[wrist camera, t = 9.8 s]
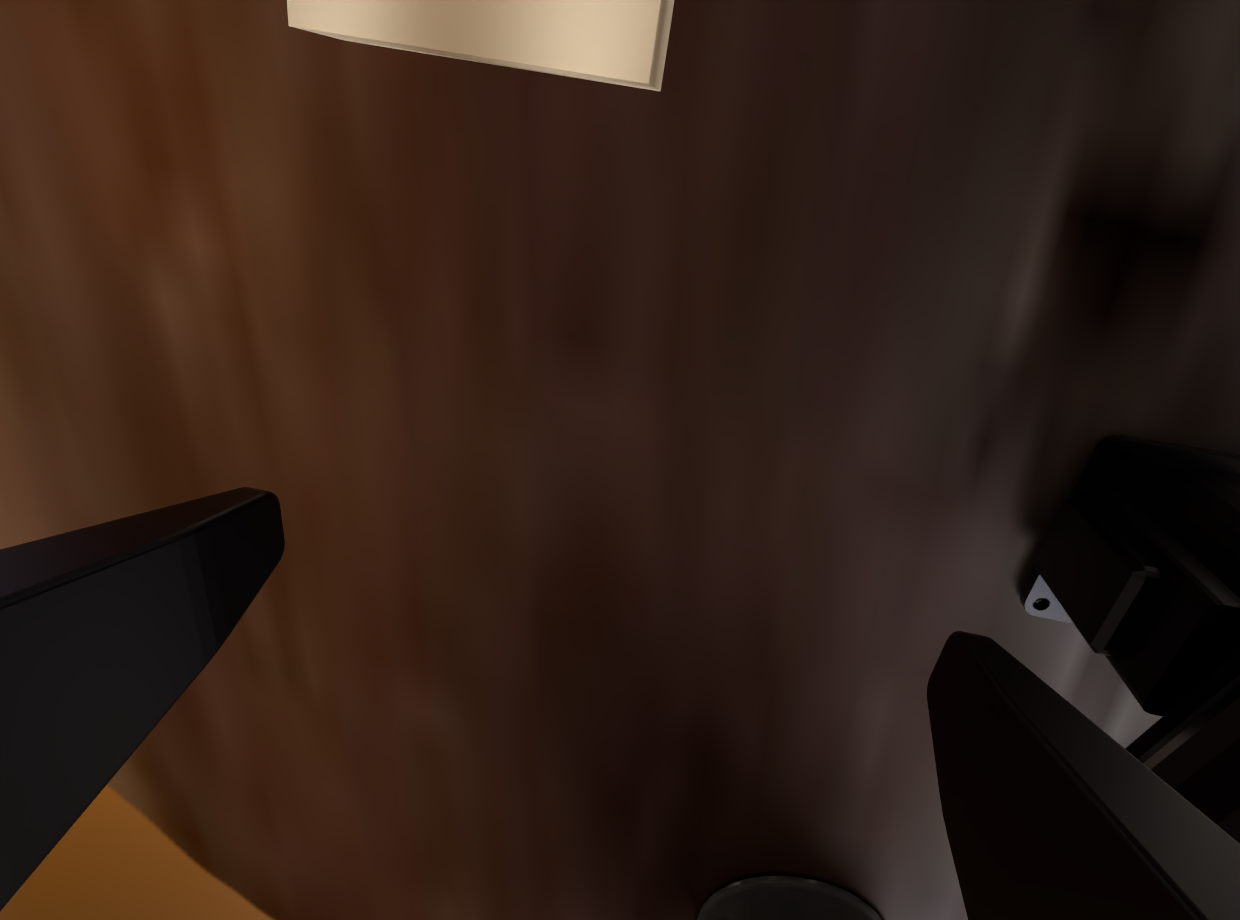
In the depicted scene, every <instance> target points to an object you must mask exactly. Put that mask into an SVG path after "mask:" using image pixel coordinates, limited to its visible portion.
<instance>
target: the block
mask: <svg viewBox="0 0 1240 920" xmlns="http://www.w3.org/2000/svg"><path fill="white" fill-rule="evenodd" d="M673 6H674V0H287V8H288V22H289V26H291V27H295V28H299V29H303V30H306V31H310V32H314V33H318V34H322V35H326V36H329V37H333V38H337V39H341V40H345V41H351V42H358V43H364V44H370V45H376V46H382V47H389V48H395V49H401V50H407V51H413V52H420V53H426V54H432V55H438V56H444V57H451V58H457V59H463V60H469V61H475V62H482V63H488V64H494V65H500V66H506V67H513V68H519V69H525V70H531V71H537V72H544V73H550V74H556V75H562V76H568V77H575V78H581V79H587V80H593V81H599V82H606V83H612V84H618V85H624V86H630V87H637V88H643V89H649V90H655V91H661V84H662V78H663V71H664V64H665V58H666V51H667V45H668V38H669V32H670V25H671V19H672V12H673Z"/></svg>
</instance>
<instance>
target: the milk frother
mask: <svg viewBox="0 0 1240 920" xmlns="http://www.w3.org/2000/svg"><path fill="white" fill-rule="evenodd" d="M698 920H882V919H881V918H880V916H879V915H878V914H877V913H876V912H874V910H873V909H872V908H871V907H870V906H868V905H867V904H865V903H864V902H863V901H862V900H860V899H859V898H858V897H857V896H854V895H853V894H851V893H849V892H847V891H845V890H842V889H841V888H838V887H836V886H833V885H830V884H827V883H824V882H821V881H817V880H810V879H804V878H801V877H790V876H760V877H753V878H749V879H744V880H741V881H739V882H733V883H731V884H729V885H727V886H726V887H724V888H723V889H720V890H719V891H717V892H716V893H714V894H713V895H712V896H711V897H710V898H709V899H708V900H707V901H706V902H705V904H704V905H703V906H702V908H701V911H700V913H699V917H698Z"/></svg>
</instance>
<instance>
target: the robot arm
mask: <svg viewBox="0 0 1240 920" xmlns="http://www.w3.org/2000/svg"><path fill="white" fill-rule="evenodd" d="M1118 448H1123V451H1122V453H1121V454H1120V455H1119V456H1117V457H1115V458H1110V455H1111V453H1112V452H1113V451H1114V450H1116V449H1118ZM284 546H285V540H284V532H283V525H282V517H281V510H280V503H279V500H278V498H277V496H276V495H275V494H274V493H272V492H269V491H264V490H259V489H254V488H249V487H243V488H238V489H234V490H230V491H226V492H222V493H219V494H215V495H211V496H207V497H203V498H199V499H195V500H191V501H187V502H184V503H180V504H176V505H172V506H168V507H164V508H160V509H156V510H152V511H149V512H145V513H141V514H137V515H133V516H129V517H125V518H121V519H117V520H114V521H110V522H106V523H102V524H98V525H94V526H90V527H86V528H82V529H79V530H75V531H71V532H67V533H63V534H59V535H55V536H51V537H47V538H44V539H40V540H36V541H32V542H28V543H24V544H20V545H16V546H13V547H9V548H5V549H1V550H0V911H1V910H2V909H3V907H5V905H6V904H7V903H8V902H9V901H10V899H11V898H12V897H13V896H14V895H15V894H16V892H17V891H18V890H19V889H20V888H21V886H22V885H23V884H24V883H25V882H26V880H27V879H28V878H29V877H30V876H31V874H32V873H33V872H34V871H35V870H36V868H37V867H38V866H39V865H40V864H41V862H42V861H43V860H44V859H45V858H46V856H47V855H48V854H49V853H50V852H51V850H52V849H53V848H54V847H55V846H56V844H57V843H58V842H59V841H60V840H61V838H62V837H63V836H64V835H65V834H66V833H67V831H68V830H69V829H70V828H71V827H72V825H73V824H74V823H75V822H76V821H77V819H78V818H79V817H80V816H81V815H82V813H83V812H84V811H85V810H86V809H87V807H88V806H89V805H90V804H91V803H92V801H93V800H94V799H95V798H96V797H97V795H98V794H99V793H100V792H101V791H102V789H103V788H104V787H105V786H106V785H107V784H108V782H109V781H110V780H111V779H112V778H113V776H114V775H115V774H116V773H117V772H118V770H119V769H120V768H121V767H122V766H123V764H124V763H125V762H126V761H127V760H128V758H129V757H130V756H131V755H132V754H133V752H134V751H135V750H136V749H137V748H138V746H139V745H140V744H141V743H142V742H143V740H144V739H145V738H146V737H147V736H148V734H149V733H150V732H151V731H152V730H153V728H154V727H155V726H156V725H157V724H158V722H159V721H160V720H161V719H162V718H163V717H164V715H165V714H166V713H167V712H168V711H169V709H170V708H171V707H172V706H173V705H174V703H175V702H176V701H177V700H178V699H179V697H180V696H181V695H182V694H183V693H184V691H185V690H186V689H187V688H188V687H189V685H190V684H191V683H192V682H193V681H194V679H195V678H196V677H197V676H198V675H199V673H200V672H201V671H202V670H203V669H204V667H205V666H206V665H207V664H208V663H209V661H210V660H211V659H212V657H213V656H214V655H215V654H216V652H217V651H218V650H219V648H220V647H221V646H222V644H223V643H224V642H225V640H226V639H227V637H228V636H229V635H230V633H231V632H232V630H233V629H234V627H235V626H236V624H237V623H238V621H239V620H240V619H241V617H242V616H243V614H244V613H245V611H246V610H247V608H248V607H249V605H250V604H251V602H252V601H253V599H254V598H255V596H256V595H257V594H258V592H259V591H260V589H261V588H262V586H263V585H264V583H265V582H266V580H267V579H268V577H269V576H270V574H271V573H272V571H273V570H274V569H275V567H276V566H277V564H278V563H279V561H280V559H281V557H282V555H283V551H284ZM1033 565H1034V569H1033V571H1032V573H1031V575H1030V577H1029V579H1028V581H1027V583H1026V585H1025V587H1024V589H1023V591H1022V593H1021V596H1020V600H1021V603H1022V605H1023V606H1024V608H1025V610H1026V611H1027V612H1028V613H1029V614H1031V615H1034V616H1038V617H1043V618H1048V619H1053V620H1058V621H1063V622H1068V623H1073V624H1074V625H1075V626H1076V627H1077V629H1078V630H1079V632H1080V633H1081V635H1082V636H1083V638H1084V639H1085V640H1086V642H1087V643H1088V645H1089V646H1090V648H1091V649H1092V650H1093V651H1094V652H1095V653H1098V654H1102V655H1105V656H1106V658H1107V659H1108V661H1109V662H1110V663H1111V665H1112V666H1113V668H1114V669H1115V670H1116V672H1117V673H1118V675H1119V676H1120V677H1121V679H1122V680H1123V682H1124V683H1125V684H1126V686H1127V687H1128V689H1129V690H1130V691H1131V693H1132V694H1133V696H1134V697H1135V698H1136V700H1137V701H1138V703H1139V704H1140V705H1141V707H1142V708H1143V710H1144V711H1145V712H1147V713H1150V714H1154V715H1158V716H1163V717H1162V718H1160V719H1159V720H1158V721H1157V722H1156V723H1155V724H1153V725H1152V726H1151V727H1150V728H1149V729H1148V730H1146V731H1145V732H1144V733H1143V734H1142V735H1140V736H1139V737H1138V738H1137V739H1136V740H1135V741H1133V742H1132V743H1131V744H1130V745H1129V746H1128V747H1126V748H1123V747H1122V746H1121V745H1120V744H1118V743H1117V742H1116V741H1115V740H1114V739H1112V738H1111V737H1110V736H1109V735H1108V734H1106V733H1105V732H1104V731H1103V730H1102V729H1100V728H1099V727H1098V726H1097V725H1095V724H1094V723H1093V722H1092V721H1091V720H1089V719H1088V718H1087V717H1086V716H1085V715H1083V714H1082V713H1081V712H1080V711H1079V710H1077V709H1076V708H1075V707H1074V706H1072V705H1071V704H1070V703H1069V702H1068V701H1066V700H1065V699H1064V698H1063V697H1062V696H1060V695H1059V694H1058V693H1057V692H1056V691H1054V690H1053V689H1052V688H1051V687H1049V686H1048V685H1047V684H1046V683H1045V682H1043V681H1042V680H1041V679H1040V678H1039V677H1037V676H1036V675H1035V674H1034V673H1033V672H1031V671H1030V670H1029V669H1028V668H1027V667H1025V666H1024V665H1023V664H1022V663H1020V662H1019V661H1018V660H1017V659H1016V658H1014V657H1013V656H1012V655H1011V654H1010V653H1008V652H1007V651H1006V650H1005V649H1004V648H1002V647H1001V646H1000V645H999V644H997V643H996V642H995V641H994V640H992V639H991V638H989V637H986V636H982V635H977V634H972V633H967V632H962V631H957V632H954V633H952V634H951V635H950V636H949V638H948V639H947V641H946V643H945V645H944V647H943V650H942V652H941V654H940V656H939V658H938V660H937V663H936V665H935V667H934V669H933V671H932V673H931V676H930V678H929V682H928V687H927V701H928V708H929V716H930V724H931V731H932V739H933V747H934V754H935V762H936V769H937V777H938V785H939V792H940V799H941V805H942V812H943V817H944V822H945V826H946V831H947V835H948V839H949V843H950V847H951V852H952V856H953V860H954V864H955V868H956V872H957V876H958V880H959V884H960V888H961V892H962V896H963V900H964V904H965V908H966V912H967V916H968V920H1240V455H1234V454H1228V453H1223V452H1217V451H1211V450H1205V449H1199V448H1193V447H1188V446H1182V445H1176V444H1170V443H1164V442H1159V441H1153V440H1147V439H1141V438H1135V437H1130V436H1124V435H1112V436H1109V437H1106V438H1104V439H1103V440H1101V441H1100V442H1099V443H1098V444H1097V446H1096V447H1095V449H1094V451H1093V453H1092V455H1091V457H1090V459H1089V461H1088V463H1087V465H1086V467H1085V469H1084V471H1083V473H1082V475H1081V477H1080V478H1079V480H1078V482H1077V484H1076V486H1075V488H1074V490H1073V492H1072V494H1071V496H1070V497H1068V498H1067V499H1066V500H1065V501H1064V502H1063V504H1062V506H1061V508H1060V510H1059V512H1058V514H1057V516H1056V518H1055V520H1054V522H1053V524H1052V526H1051V528H1050V530H1049V532H1048V534H1047V536H1046V538H1045V540H1044V542H1043V544H1042V546H1041V548H1040V550H1039V552H1038V554H1037V556H1036V558H1035V560H1034V562H1033ZM1039 598H1044V599H1043V601H1041V602H1039V603H1033V602H1034V601H1035V600H1036V599H1039Z"/></svg>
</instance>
